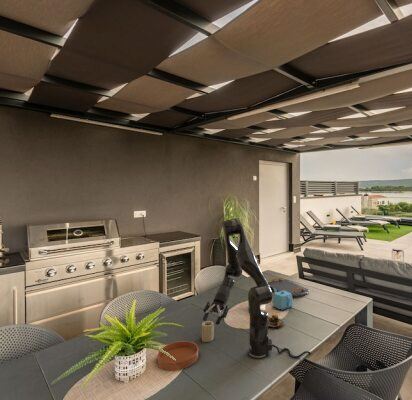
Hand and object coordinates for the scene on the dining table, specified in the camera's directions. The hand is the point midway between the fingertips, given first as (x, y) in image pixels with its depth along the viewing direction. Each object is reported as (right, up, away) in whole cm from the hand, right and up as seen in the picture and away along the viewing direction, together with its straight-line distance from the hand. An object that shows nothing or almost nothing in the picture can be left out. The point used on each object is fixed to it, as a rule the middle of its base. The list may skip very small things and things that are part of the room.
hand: (210, 322), depth 151 cm
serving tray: (+46, -8, +78) cm, 90 cm away
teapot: (+40, -8, +44) cm, 60 cm away
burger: (+35, -9, +16) cm, 39 cm away
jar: (-1, -8, -2) cm, 8 cm away
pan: (-11, -8, -20) cm, 24 cm away
